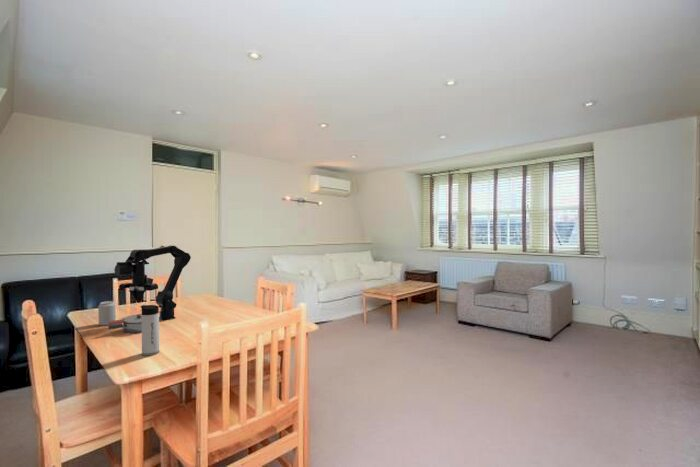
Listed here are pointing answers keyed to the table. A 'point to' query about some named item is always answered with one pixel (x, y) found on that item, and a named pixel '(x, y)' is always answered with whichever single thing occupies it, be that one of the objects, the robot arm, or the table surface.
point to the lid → (127, 320)
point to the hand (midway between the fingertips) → (138, 302)
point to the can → (106, 312)
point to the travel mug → (150, 330)
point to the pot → (129, 327)
